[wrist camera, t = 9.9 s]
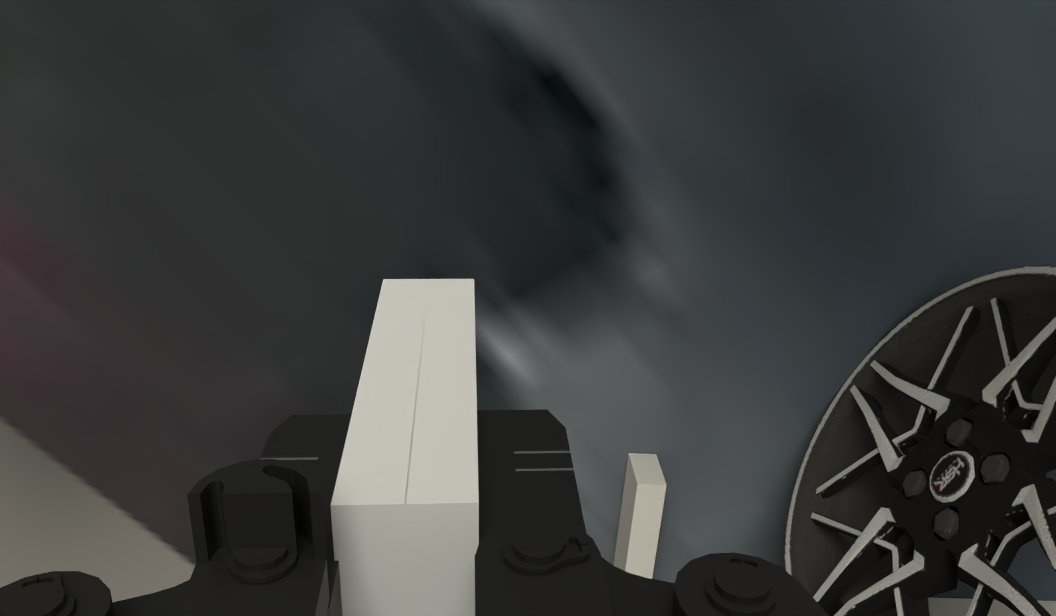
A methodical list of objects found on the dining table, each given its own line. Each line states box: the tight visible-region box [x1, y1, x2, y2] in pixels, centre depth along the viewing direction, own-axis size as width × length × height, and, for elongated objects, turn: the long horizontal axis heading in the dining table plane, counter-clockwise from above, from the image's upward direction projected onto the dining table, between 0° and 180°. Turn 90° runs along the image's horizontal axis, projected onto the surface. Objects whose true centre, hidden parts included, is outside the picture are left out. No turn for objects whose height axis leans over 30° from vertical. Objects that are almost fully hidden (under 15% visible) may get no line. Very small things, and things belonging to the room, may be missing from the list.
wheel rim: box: [784, 265, 1056, 616], centre depth 41 cm, size 20×9×20 cm, turn 148°
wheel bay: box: [613, 453, 1056, 616], centre depth 51 cm, size 10×31×7 cm, turn 86°
